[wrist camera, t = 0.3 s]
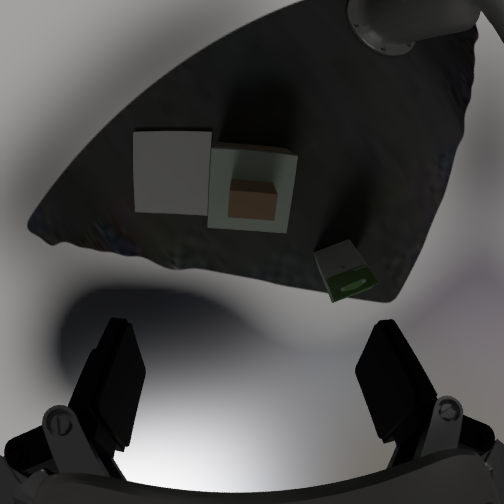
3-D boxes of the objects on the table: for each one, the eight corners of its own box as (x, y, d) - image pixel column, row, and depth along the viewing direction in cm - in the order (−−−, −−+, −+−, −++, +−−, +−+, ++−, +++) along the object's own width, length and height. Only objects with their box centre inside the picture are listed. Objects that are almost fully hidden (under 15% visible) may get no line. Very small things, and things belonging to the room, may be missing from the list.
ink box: (318, 269, 49) (338, 319, 37) (312, 251, 47) (333, 300, 35) (353, 256, 48) (382, 302, 36) (349, 238, 46) (380, 282, 34)
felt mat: (134, 131, 36) (133, 132, 35) (212, 131, 37) (211, 132, 36) (136, 210, 42) (135, 211, 42) (207, 214, 43) (207, 215, 42)
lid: (213, 146, 32) (206, 154, 26) (294, 153, 33) (307, 163, 27) (209, 221, 37) (202, 245, 31) (283, 226, 38) (292, 251, 31)
